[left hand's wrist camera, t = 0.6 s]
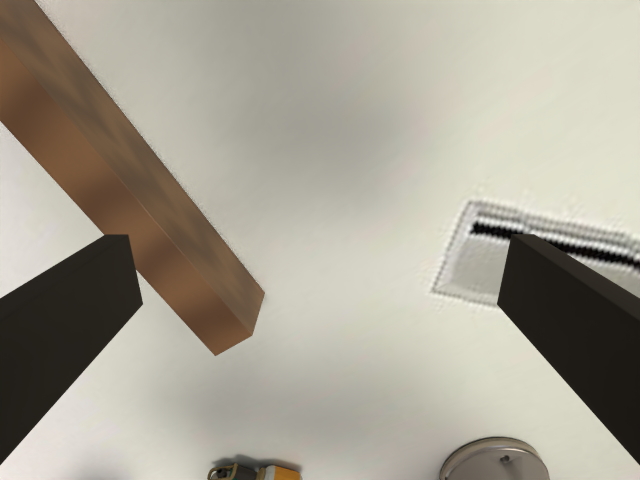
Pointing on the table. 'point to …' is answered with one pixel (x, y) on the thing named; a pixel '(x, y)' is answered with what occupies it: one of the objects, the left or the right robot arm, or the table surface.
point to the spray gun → (253, 473)
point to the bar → (119, 178)
